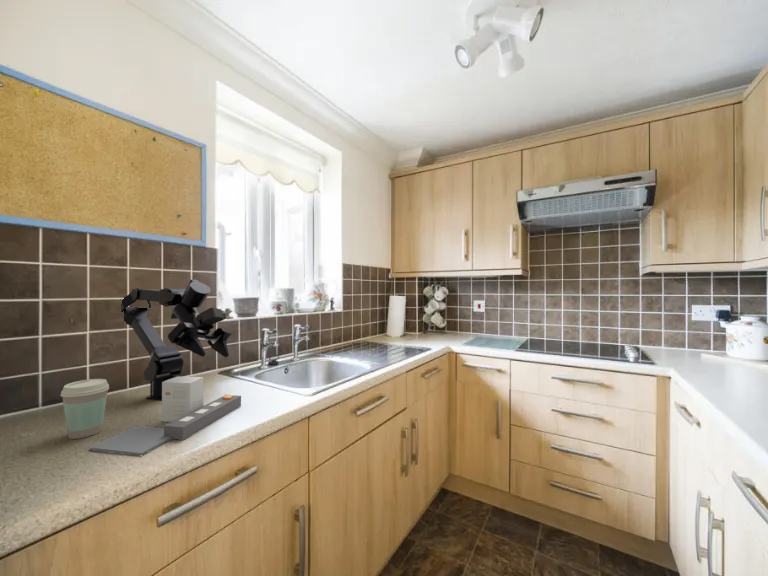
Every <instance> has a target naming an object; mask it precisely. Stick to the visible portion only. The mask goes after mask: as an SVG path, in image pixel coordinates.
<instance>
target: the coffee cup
mask: <svg viewBox="0 0 768 576" xmlns="http://www.w3.org/2000/svg"><path fill="white" fill-rule="evenodd" d="M109 389H110V384H109V383H108V381H107V379H104V378H91V379H81V380H78V381H73V382H70V383H66V384H65V385H64V386H63V388H62V390H61V391H60V397H62V404H63V411H64V415H65V416H64V417H65V418H64V419H65V424H66V431H67V432H66V433H67V437H68V439H73V440H76V439H84V438H89V437H90V436H91V435H92V436H94V435H96V434H99V433H100V432H101V431H102V429H103V422H104V416H105V410H106V404H107V397H108V390H109Z"/></svg>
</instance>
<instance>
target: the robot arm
mask: <svg viewBox="0 0 768 576" xmlns="http://www.w3.org/2000/svg"><path fill="white" fill-rule="evenodd" d="M187 285H188V286H187V287H186V288H184V287H183V288H181V287H176V288H175V287H165V288H160V289H156V288H155V289H153V288H149V287H136V288H132V290H131V291H130V293H129V294H127V295H126V296H124V297H123V298H124V299H123V300H122V304H121V312H123V311H124V321H125V322H126V324H125V325H128V326H130V327H132V329H133V331H134V333H135V334H136V336H137V337H138V339H139V340H140V342H141V343H142V345H143V347H144V348H145V350H146V351H147V353H148V354H149V359H148V363H147V364H148V366H147V367H146V368H145V370H144V372H143V377H144V380H146V381H150V383H149V384H150V386H149V389H150V391H149V393H150V394H149V395H147V396H145V399H148V400H151V399H152V400H161V401H162V382H164V381H166V380H169V379H172V378H175V377H177V376H180V375H181V374H182V370H183V366H184V363H185V362H184V359H183V357H182V353H181V352H179V350H178V347H176V346H179V347H181V348H183V349H185V350H188V351H189V352H192V353H194V354H196V355H198V356H200V357H202V358H203V357H205V356H206V354H207V353H206V351H205V349H204V346H203V345H202V343H201V342H200V341H201V340H204V341H206V342H207V344H208V345H209V346H210V348H211V349H212V350H214V351H215V352H217V353H218V354H219V355H220V356H223V357H224V358H228V357H229V356H230V354H229V349H228V344H227V343H228V342H227V340H228V339H229V338H230V337H231V336H232V332H231V331H230V329H228V328H223V327H222V328H221V327H217V328H216V329H215V330H214V331H213V332H211V330H212V329H214V328H215V324H217V323H219V322H222V321H224V320H226V318H227V317H226V316H227V313H225V311H224V310H223V309H222V308H217V307H209V308H208V309H206V310H204V311H202V312H200V311H199V310H198V308H200V307H202V306H203V305H204V303H205V301H206V299H207V298H208V296H209V295H210V293H211V291H212V290H211V287H210V286H209V285H207V284H205V283H203V282H202V281H201V282H200V281H199V280H198V279H190V281H189V282H188V284H187ZM145 300H147V302H148V304H149V308H150V309H151V308H152V303H151V302H156V303H158V304H159V305H160V306H163V307H166V308H169V307H170V308H171V307H172V308H173V307H174V308H173V310H172V312H171V315H170V319H171V320H174V319H175V320H176V319H177V320H178V324H177V325H176V326H175V327H174V328H173V329H172V330H171V331H170V332H168V335H167V340H168V341H169V343H170V344H175V345H171V346H170V345H169V346H167V345H166V344H165V342H164V341H163V339H162V338H161V336H160V335H159V333H158V332H157V331H156V329H155V327H154V326H153V324H152V323H151V322H150V320H149V319H148V315H149V313H150V309H149V310H148V309H147V308H138V307H128V306H129V305H131V304H132V303H134V302H137V301H145Z"/></svg>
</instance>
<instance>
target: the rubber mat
mask: <svg viewBox="0 0 768 576" xmlns="http://www.w3.org/2000/svg"><path fill="white" fill-rule="evenodd" d="M167 441H168V442H169V441H172V439H171V437H169V436H164V427H156V426H155V427H152V426H142V425H135V426H134V427H132V428H129V429H127V430H125V431H122V432H121V433H118V434H116V435H114V436H112V437H109V438H107V439H105V440H103V441H101V442H99V443H96V444H94V445H92V446H89V448H88V451H90V450H94V451H93V452H99V451H103V452H102V453H108V452H113V453H112V454H118V453H123V454H122V455H127V454H133V455H132V456H136V455H143V454H145V453H146V452H148V451H150V450H152V449H153V450H155V449H157V448H159V447H160V445H161V446H162V445H164V444H166V443H168V442H167ZM165 442H166V443H165ZM158 446H159V447H158ZM156 447H157V448H156ZM154 448H155V449H154ZM153 450H152V451H153ZM150 452H151V451H150ZM148 453H149V452H148ZM146 454H147V453H146ZM146 454H145V455H146ZM143 456H144V455H143Z"/></svg>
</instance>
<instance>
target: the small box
mask: <svg viewBox="0 0 768 576" xmlns="http://www.w3.org/2000/svg"><path fill="white" fill-rule="evenodd" d="M204 400H205V399H204V377H203V376H200V377H199V376H180V375H177V376H175V378H172V379H169V380H166V381H164V382H162V400H161V421H162V422H164V423H165V422H166V423H167V422H168V423H170V422H172V421H174V420H176V419H178V418H180V417H182V416H184V415H186V414H188V413H190V412H192V411H194V410H196V409H198V408H200V407H202V406H204V405H205V403H204Z"/></svg>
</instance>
